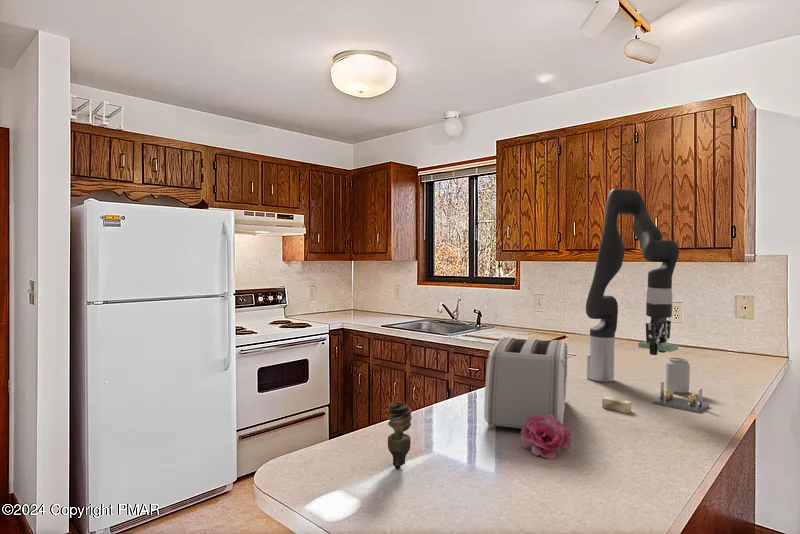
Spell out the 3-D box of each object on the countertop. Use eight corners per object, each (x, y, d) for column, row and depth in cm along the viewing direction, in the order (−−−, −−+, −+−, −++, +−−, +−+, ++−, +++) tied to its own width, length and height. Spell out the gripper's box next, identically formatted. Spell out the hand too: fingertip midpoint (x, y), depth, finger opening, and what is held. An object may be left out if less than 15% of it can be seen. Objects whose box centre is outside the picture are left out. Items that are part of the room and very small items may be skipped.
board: (638, 347, 171) (638, 340, 171) (646, 345, 175) (646, 338, 175) (670, 351, 164) (670, 344, 164) (678, 349, 168) (678, 342, 168)
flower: (557, 475, 123) (536, 443, 121) (530, 463, 132) (510, 433, 130) (586, 441, 127) (566, 410, 125) (557, 432, 136) (539, 402, 134)
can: (692, 394, 185) (692, 361, 185) (669, 393, 186) (669, 360, 186) (685, 389, 192) (685, 357, 192) (663, 388, 194) (663, 356, 193)
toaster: (567, 398, 179) (568, 333, 179) (563, 441, 137) (564, 356, 136) (504, 392, 186) (505, 329, 186) (481, 431, 144) (482, 350, 143)
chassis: (652, 403, 173) (652, 383, 173) (663, 397, 180) (664, 379, 180) (699, 412, 163) (699, 392, 163) (709, 406, 170) (709, 386, 170)
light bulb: (386, 463, 121) (386, 398, 120) (409, 462, 121) (410, 398, 121) (387, 473, 115) (388, 405, 115) (412, 472, 116) (413, 405, 115)
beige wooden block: (602, 407, 168) (602, 398, 168) (606, 405, 170) (606, 396, 170) (627, 413, 162) (627, 403, 162) (631, 411, 164) (631, 401, 164)
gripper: (656, 299, 177) (655, 349, 177) (637, 302, 167) (636, 354, 167) (680, 301, 171) (678, 352, 171) (662, 304, 161) (660, 358, 162)
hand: (657, 353), depth 169 cm, fingers closed on board, 6 cm apart
